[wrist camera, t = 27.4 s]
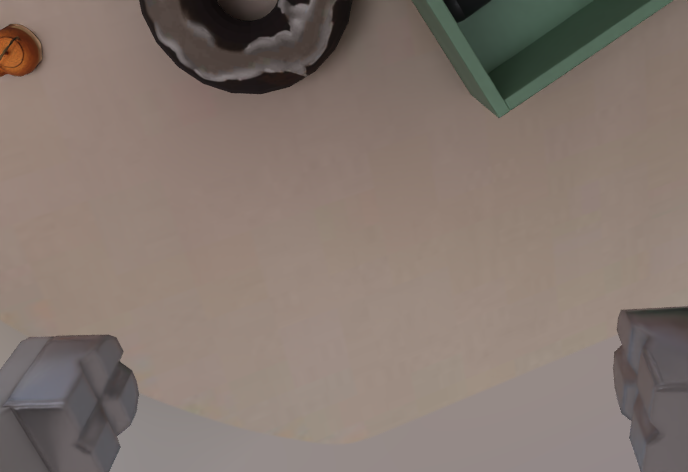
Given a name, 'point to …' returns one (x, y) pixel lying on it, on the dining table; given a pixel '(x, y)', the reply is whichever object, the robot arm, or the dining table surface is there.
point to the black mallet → (464, 8)
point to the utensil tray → (527, 41)
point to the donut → (247, 41)
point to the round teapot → (18, 50)
